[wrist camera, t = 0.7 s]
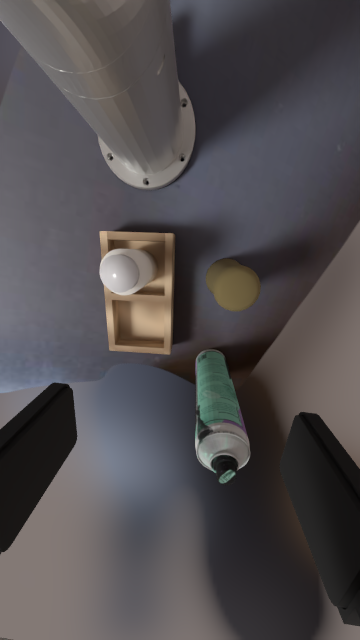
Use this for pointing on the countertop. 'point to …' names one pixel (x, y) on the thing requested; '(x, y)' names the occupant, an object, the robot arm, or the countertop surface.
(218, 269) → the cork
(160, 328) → the caddy
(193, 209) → the countertop surface
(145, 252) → the salt shaker
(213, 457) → the spray can
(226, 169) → the countertop surface
